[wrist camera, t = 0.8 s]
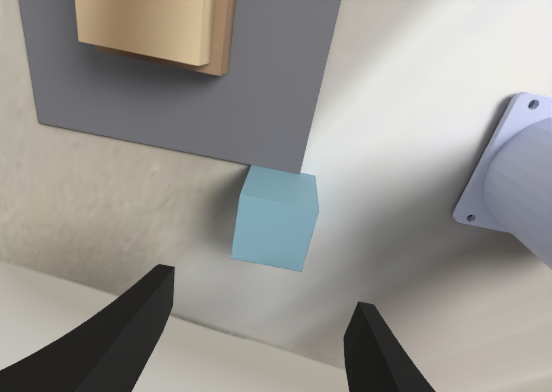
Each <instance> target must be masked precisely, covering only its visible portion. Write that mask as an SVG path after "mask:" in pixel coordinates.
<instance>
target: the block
mask: <svg viewBox="0 0 552 392" xmlns="http://www.w3.org/2000/svg"><path fill="white" fill-rule="evenodd" d="M318 212H319V205H318V196H317V188H316V179H315V175H309V174H304V173H300V174H294V173H289V172H284V171H279V170H274V169H269V168H264V167H259V166H254V165H251V167H250V170H249V172H248V175H247V178H246V180H245V183H244V185H243V188H242V191H241V193H240V198H239V204H238V211H237V218H236V224H235V231H234V238H233V244H232V251H231V258H232V259H238V260H243V261H248V262H253V263H258V264H264V265H269V266H274V267H279V268H285V269H290V270H295V271H300V272H301V271H302V268H303V265H304V261H305V258H306V254H307V251H308V247H309V244H310V240H311V237H312V233H313V230H314V226H315V223H316V219H317V216H318Z"/></svg>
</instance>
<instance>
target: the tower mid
mask: <svg viewBox="0 0 552 392" xmlns="http://www.w3.org/2000/svg"><path fill="white" fill-rule="evenodd" d="M75 6H76V17H77V28H78V39H79V41H80V42H85V43H89V44H94V45H99V46H104V47H109V48H114V49H119V50H124V51H128V52H133V53H138V54H143V55H148V56H153V57H158V58H162V59H167V60H172V61H177V62H182V63H187V64H192V65H196V66H200V65H204V64H208V63H211V54H212V42H213V30H214V19H215V7H216V0H75Z"/></svg>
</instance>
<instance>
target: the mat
mask: <svg viewBox="0 0 552 392" xmlns="http://www.w3.org/2000/svg"><path fill="white" fill-rule="evenodd" d="M340 3H341V0H236V8H235V17H234V26H233V36H232V45H231V54H230V63H229V72H228V73H226V74H224V75H221V76H217V75H213V74H208V73H203V72H198V71H193V70H188V69H183V68H178V67H174V66H169V65H164V64H159V63H154V62H149V61H144V60H139V59H135V58H130V57H125V56H120V55H115V54H110V53H105V52H101V51H96V47H95V45H94V44H89V43H85V42H80V41H79V39H78V28H77V17H76V6H75V0H19V5H20V11H21V17H22V23H23V29H24V36H25V42H26V48H27V54H28V60H29V66H30V73H31V79H32V85H33V91H34V97H35V103H36V110H37V116H38V122H39V123H42V124H47V125H53V126H58V127H63V128H68V129H73V130H78V131H83V132H88V133H93V134H98V135H103V136H108V137H113V138H118V139H123V140H128V141H133V142H138V143H143V144H148V145H153V146H158V147H163V148H168V149H173V150H178V151H183V152H188V153H193V154H199V155H204V156H209V157H214V158H219V159H224V160H229V161H234V162H239V163H244V164H249V165H254V166H259V167H264V168H269V169H274V170H279V171H284V172H289V173H294V174H300V170H301V166H302V162H303V158H304V153H305V149H306V145H307V141H308V137H309V132H310V128H311V124H312V120H313V116H314V112H315V107H316V103H317V99H318V95H319V91H320V87H321V82H322V78H323V74H324V70H325V66H326V62H327V57H328V53H329V49H330V45H331V41H332V36H333V32H334V28H335V24H336V20H337V16H338V11H339V7H340Z"/></svg>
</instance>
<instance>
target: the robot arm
mask: <svg viewBox="0 0 552 392" xmlns="http://www.w3.org/2000/svg"><path fill="white" fill-rule="evenodd" d="M532 100H534V104H533V106H532V107H530V108H528V105H529V103H530V102H531V101H532ZM469 215H472V217H471V218H467V217H468V216H469ZM452 216H453V218H454V219H455V220H456V222H458V223H462V224H467V225H472V226H478V227H483V228H488V229H493V230H498V231H503V232H508V233H512V234H513V235H514V236H515V237H516V238H517V239H518V240H519V241H520V242H522V243H523V244H524V245H525V246H526V247H527V248H528V249H529V250H530V251H531V252H533V253H534V254H535V255H536V256H537V257H538V258H539V259H540V260H541V261H542V262H544V263H545V264H546V265H547V266H548V267H549V268H550V269H551V270H552V97H547V96H542V95H537V94H533V93H528V92H520V93H517V94H516V95H515V96H513V98H512V99H511V101H510V103H509V105H508V107H507V109H506V111H505V113H504V115H503V116H502V118H501V120H500V122H499V124H498V126H497V128H496V130H495V132H494V134H493V136H492V138H491V140H490V142H489V144H488V146H487V148H486V149H485V151H484V153H483V155H482V157H481V159H480V161H479V163H478V165H477V167H476V169H475V171H474V173H473V175H472V177H471V179H470V181H469V182H468V184H467V186H466V188H465V190H464V192H463V194H462V196H461V198H460V200H459V202H458V204H457V206H456V208H455V210H454V212H453V215H452ZM174 271H175V267H172V266H167V265H161V264H158V265H157V266H155V267H154V268H153V269H152V270H151V271H150V272H148V273H147V274H146V275H145V276H144V277H143V278H142V279H140V280H139V281H138V282H137V283H136V284H134V285H133V286H132V287H131V288H130V289H128V290H127V291H126V292H125V293H123V294H122V295H121V296H120V297H118V298H117V299H116V300H114V301H113V302H112V303H111V304H109V305H108V306H107V307H105V308H104V309H102V310H101V311H100V312H98V313H97V314H96V315H94V316H93V317H91V318H90V319H88V320H87V321H86V322H84V323H83V324H81V325H80V326H78V327H77V328H75V329H74V330H72V331H70V332H69V333H67V334H66V335H64V336H63V337H61V338H59V339H58V340H56V341H54V342H52V343H51V344H49V345H47V346H45V347H44V348H42V349H40V350H39V351H37V352H35V353H33V354H31V355H30V356H28V357H26V358H24V359H22V360H20V361H18V362H17V363H15V364H13V365H11V366H8V367H6V368H5V369H2V370H1V371H0V392H132V390H133V388H134V386H135V384H136V382H137V380H138V378H139V376H140V375H141V373H142V371H143V369H144V367H145V365H146V363H147V361H148V359H149V357H150V355H151V353H152V352H153V350H154V348H155V346H156V344H157V342H158V340H159V338H160V336H161V334H162V332H163V330H164V327H165V325H166V322H167V320H168V317H169V315H170V312H171V309H172V307H173V292H174ZM344 357H345V368H346V374H347V380H348V385H349V391H350V392H435V390H434V389H433V388H432V387H431V385H430V384H429V383H428V382H427V380H426V379H425V378H424V376H423V375H422V374H421V373H420V371H419V370H418V369H417V367H416V366H415V365H414V363H413V362H412V360H411V359H410V358H409V356H408V355H407V354H406V352H405V351H404V349H403V348H402V346H401V345H400V343H399V342H398V341H397V339H396V338H395V336H394V335H393V333H392V332H391V330H390V328H389V327H388V325H387V324H386V322H385V321H384V319H383V318H382V316H381V315H380V313H379V312H378V310H377V309H376V307H375V306H374V305H373V304H368V303H363V302H358V304H357V306H356V309H355V311H354V314H353V316H352V318H351V321H350V323H349V326H348V328H347V330H346V333H345V335H344Z"/></svg>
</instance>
